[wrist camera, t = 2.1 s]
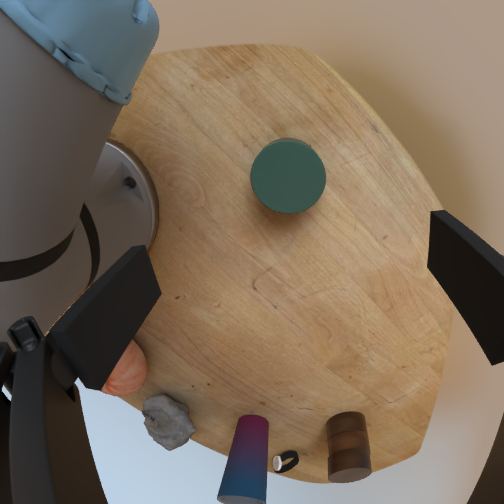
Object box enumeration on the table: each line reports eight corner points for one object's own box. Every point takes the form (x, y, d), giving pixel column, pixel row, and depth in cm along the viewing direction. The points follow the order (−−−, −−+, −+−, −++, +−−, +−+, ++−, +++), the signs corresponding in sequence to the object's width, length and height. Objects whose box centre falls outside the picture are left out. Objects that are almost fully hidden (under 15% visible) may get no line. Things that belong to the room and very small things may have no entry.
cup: (261, 408, 42) (250, 495, 28) (281, 428, 44) (274, 507, 30) (224, 415, 44) (206, 495, 30) (246, 434, 46) (233, 508, 32)
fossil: (176, 379, 41) (159, 421, 34) (217, 411, 43) (207, 451, 36) (136, 396, 45) (120, 431, 38) (174, 423, 47) (163, 458, 40)
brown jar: (318, 428, 43) (319, 482, 34) (339, 408, 40) (343, 466, 31) (352, 433, 43) (356, 484, 34) (373, 414, 40) (382, 468, 31)
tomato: (82, 309, 37) (52, 344, 30) (147, 320, 36) (121, 363, 29) (102, 362, 42) (80, 397, 35) (161, 376, 41) (143, 416, 34)
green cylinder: (246, 188, 28) (240, 198, 24) (268, 128, 25) (265, 129, 22) (306, 211, 28) (308, 224, 25) (331, 153, 25) (337, 158, 22)
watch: (271, 478, 47) (264, 464, 49) (291, 471, 49) (283, 459, 52) (285, 462, 44) (276, 447, 47) (306, 455, 46) (297, 441, 49)
